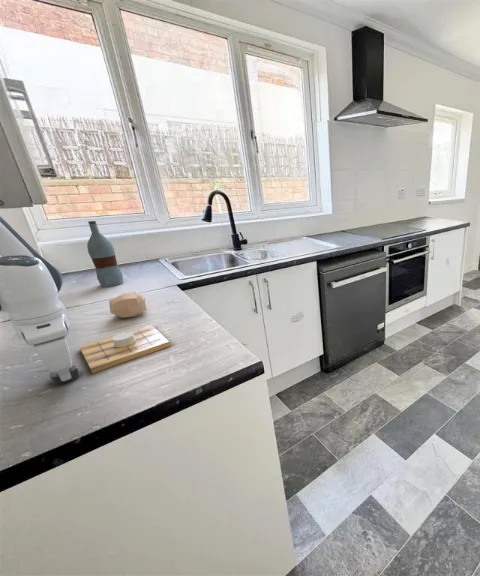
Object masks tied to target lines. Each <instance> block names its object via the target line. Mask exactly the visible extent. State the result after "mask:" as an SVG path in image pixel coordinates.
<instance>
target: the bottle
mask: <svg viewBox="0 0 480 576" xmlns="http://www.w3.org/2000/svg"><path fill="white" fill-rule="evenodd" d="M87 223H88V225H89V230H90V232H91V234H90V237H89V238H88V241H87V244H86V245H87V246H86V248H87V253H88V255H89V257H90V259H91V261H92V263H93V265H94V268H95V273H96V274H95V275H96V279H97V281H98V283H99V285H100V286H101V287H103V288H110V287H116V286H119V285H122V284H123V283H124V276H123V273H122V271H121V268H120V267H119V265H118V261H117V257H116V251H115V248H114V246H113V243H112V242H111V240H109V239H108V238H107V237H105V235H103V234H102V233H100V230H99V226H98V224H97V221H96V220H88V221H87Z"/></svg>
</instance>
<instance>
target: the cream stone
mask: <svg viewBox="0 0 480 576" xmlns="http://www.w3.org/2000/svg"><path fill="white" fill-rule="evenodd" d="M125 332H126V333H125ZM125 332H121V333H119V334H115V335H116V336H115V335H113V336H114V337H113V338H112V340H113V343H114V346H115V347H117V348H120V347H126V346H129V345H131V344H133V343H134V342H135V341H136V340H135V336H134V333H132V332H128V331H125Z"/></svg>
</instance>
